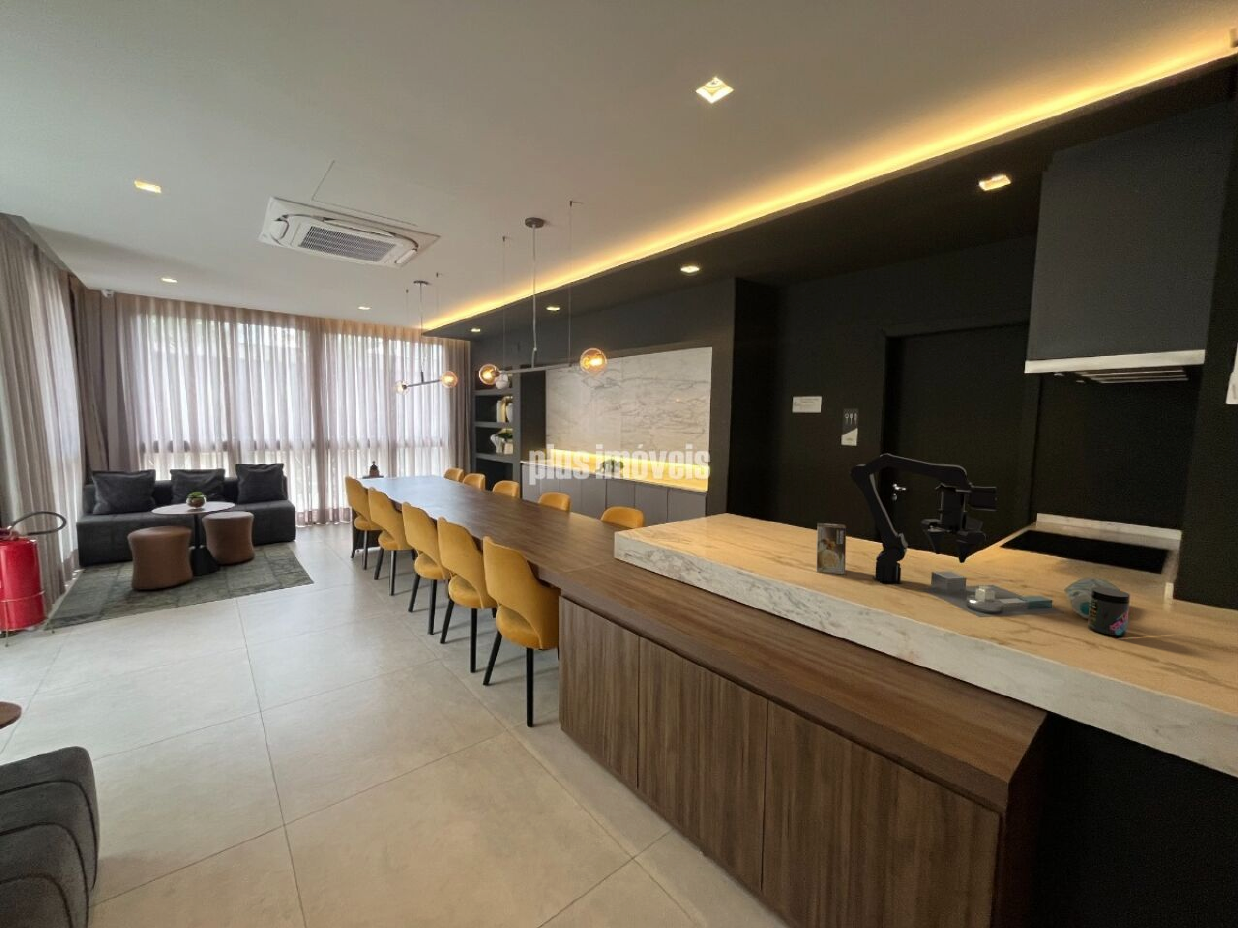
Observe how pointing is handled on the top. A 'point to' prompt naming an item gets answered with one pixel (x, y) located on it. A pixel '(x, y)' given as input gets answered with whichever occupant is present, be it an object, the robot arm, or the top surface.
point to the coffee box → (831, 548)
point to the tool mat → (1000, 593)
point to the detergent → (1084, 593)
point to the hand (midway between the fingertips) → (949, 558)
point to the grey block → (948, 582)
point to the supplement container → (1108, 612)
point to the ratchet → (1003, 602)
